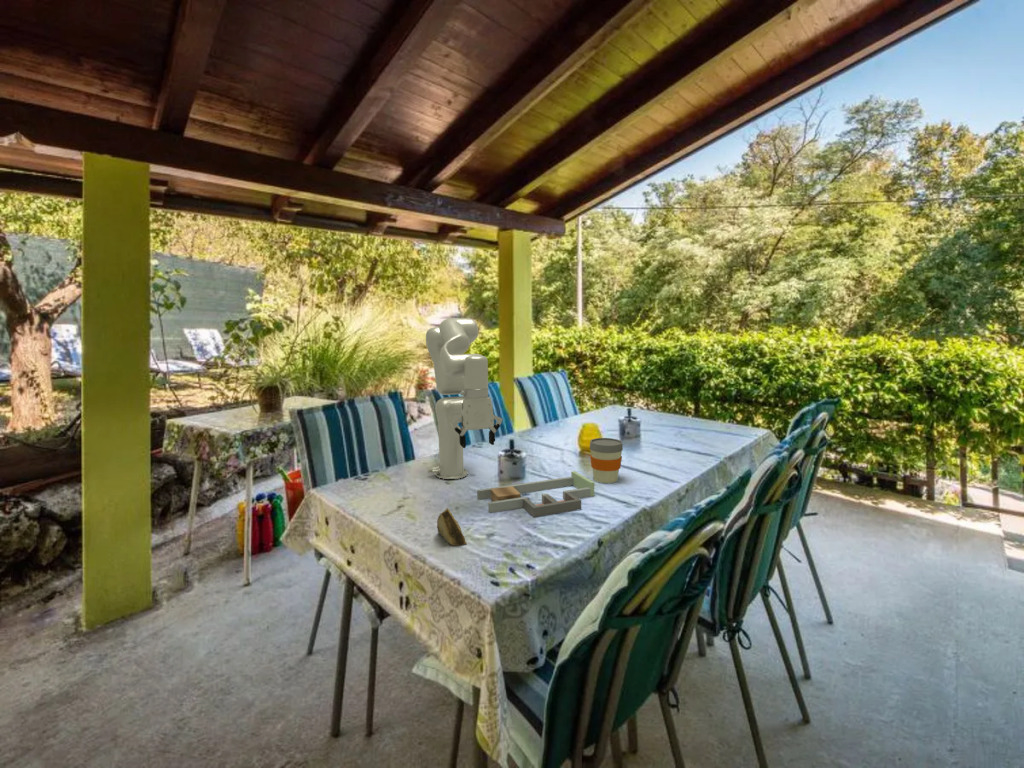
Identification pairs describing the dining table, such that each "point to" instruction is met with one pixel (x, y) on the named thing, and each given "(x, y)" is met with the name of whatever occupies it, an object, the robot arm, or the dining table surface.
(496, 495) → the walnut block
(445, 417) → the robot arm
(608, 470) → the reusable coffee cup
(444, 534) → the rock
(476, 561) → the dining table surface
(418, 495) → the dining table surface
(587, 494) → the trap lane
